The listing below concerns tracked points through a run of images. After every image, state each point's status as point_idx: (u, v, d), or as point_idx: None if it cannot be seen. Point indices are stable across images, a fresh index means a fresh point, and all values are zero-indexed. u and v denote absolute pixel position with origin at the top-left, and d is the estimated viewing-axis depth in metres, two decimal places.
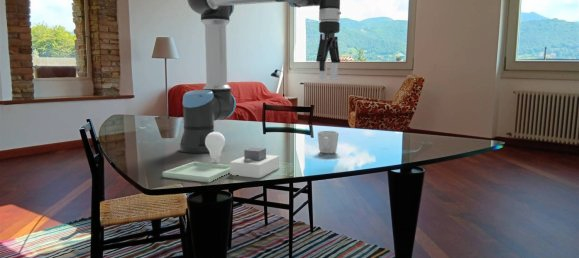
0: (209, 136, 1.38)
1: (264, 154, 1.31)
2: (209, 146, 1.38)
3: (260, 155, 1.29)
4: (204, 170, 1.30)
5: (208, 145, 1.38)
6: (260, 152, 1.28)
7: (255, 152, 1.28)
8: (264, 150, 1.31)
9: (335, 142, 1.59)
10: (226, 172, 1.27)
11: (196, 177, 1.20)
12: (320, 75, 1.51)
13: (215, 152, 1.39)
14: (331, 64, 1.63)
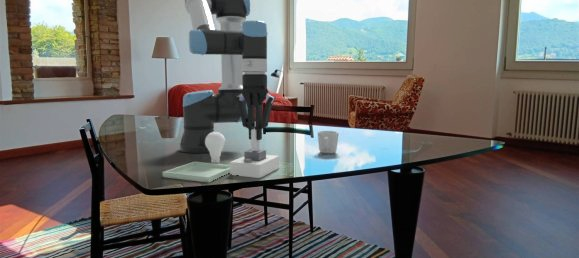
0: (209, 136, 1.38)
1: (264, 156, 1.31)
2: (209, 146, 1.38)
3: (260, 157, 1.29)
4: (204, 170, 1.30)
5: (208, 145, 1.38)
6: (260, 154, 1.28)
7: (255, 154, 1.28)
8: (264, 152, 1.31)
9: (335, 142, 1.59)
10: (226, 172, 1.27)
11: (196, 177, 1.20)
12: None
13: (215, 152, 1.39)
14: None
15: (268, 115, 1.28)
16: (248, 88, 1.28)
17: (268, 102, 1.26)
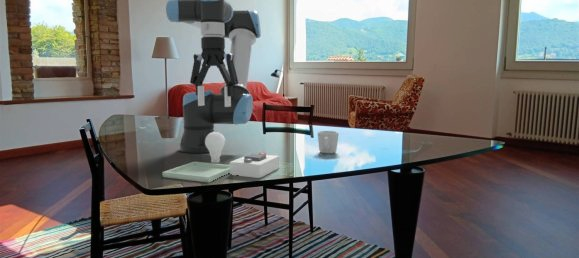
0: (209, 136, 1.38)
1: None
2: (209, 146, 1.38)
3: None
4: (204, 170, 1.30)
5: (208, 145, 1.38)
6: (260, 158, 1.29)
7: (255, 158, 1.28)
8: (264, 156, 1.31)
9: (335, 142, 1.59)
10: (226, 172, 1.27)
11: (196, 177, 1.20)
12: None
13: (215, 152, 1.39)
14: None
15: (234, 71, 1.35)
16: (208, 53, 1.36)
17: (228, 59, 1.34)
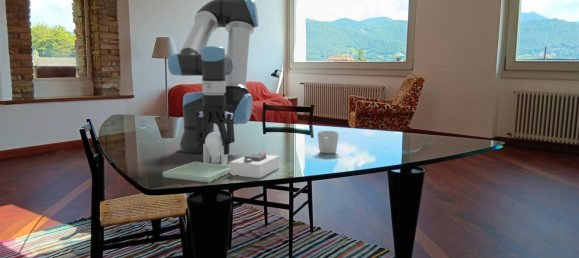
0: (209, 136, 1.38)
1: None
2: (209, 146, 1.38)
3: None
4: (204, 170, 1.30)
5: (208, 145, 1.38)
6: (260, 158, 1.29)
7: (255, 158, 1.28)
8: (264, 156, 1.31)
9: (335, 142, 1.59)
10: (226, 172, 1.27)
11: (196, 177, 1.20)
12: None
13: (215, 152, 1.39)
14: None
15: (232, 130, 1.38)
16: (209, 109, 1.39)
17: (228, 119, 1.36)
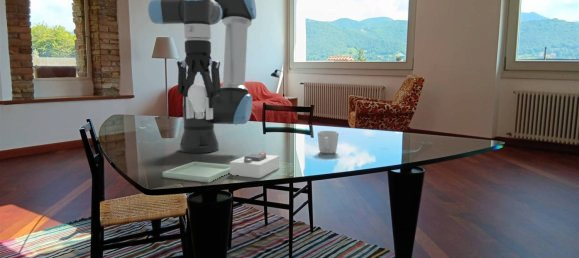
0: (192, 87, 1.23)
1: None
2: (192, 98, 1.23)
3: None
4: (204, 170, 1.30)
5: (191, 97, 1.23)
6: (260, 158, 1.29)
7: (255, 158, 1.28)
8: (264, 156, 1.31)
9: (335, 142, 1.59)
10: (226, 172, 1.27)
11: (196, 177, 1.20)
12: None
13: (199, 105, 1.24)
14: None
15: (217, 81, 1.23)
16: (192, 57, 1.23)
17: (213, 67, 1.21)
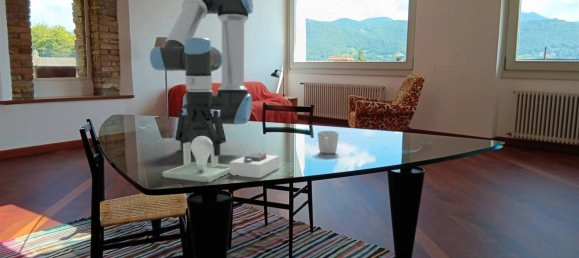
0: (196, 140, 1.25)
1: None
2: (195, 151, 1.25)
3: None
4: (204, 170, 1.30)
5: (194, 150, 1.25)
6: (260, 158, 1.29)
7: (255, 158, 1.28)
8: (264, 156, 1.31)
9: (335, 142, 1.59)
10: (226, 172, 1.27)
11: (196, 177, 1.20)
12: None
13: (202, 158, 1.26)
14: None
15: (221, 129, 1.24)
16: (193, 108, 1.25)
17: (215, 116, 1.23)
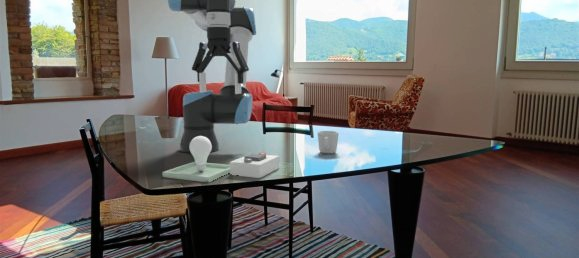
0: (194, 141, 1.25)
1: None
2: (194, 152, 1.25)
3: None
4: (204, 170, 1.30)
5: (193, 150, 1.25)
6: (260, 158, 1.29)
7: (255, 158, 1.28)
8: (264, 156, 1.31)
9: (335, 142, 1.59)
10: (226, 172, 1.27)
11: (196, 177, 1.20)
12: None
13: (201, 158, 1.26)
14: None
15: (242, 58, 1.34)
16: (214, 45, 1.36)
17: (234, 47, 1.33)
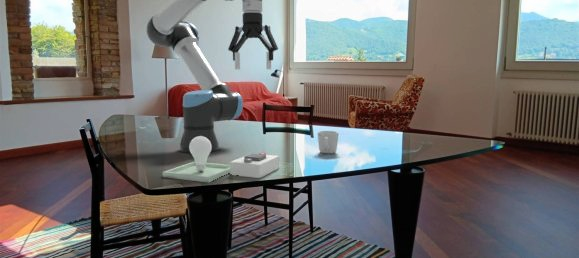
0: (194, 141, 1.25)
1: None
2: (194, 152, 1.25)
3: None
4: (204, 170, 1.30)
5: (193, 151, 1.25)
6: (260, 158, 1.29)
7: (255, 158, 1.28)
8: (264, 156, 1.31)
9: (335, 142, 1.59)
10: (226, 172, 1.27)
11: (196, 177, 1.20)
12: None
13: (201, 158, 1.26)
14: None
15: (273, 39, 1.58)
16: (248, 28, 1.60)
17: (266, 29, 1.58)
